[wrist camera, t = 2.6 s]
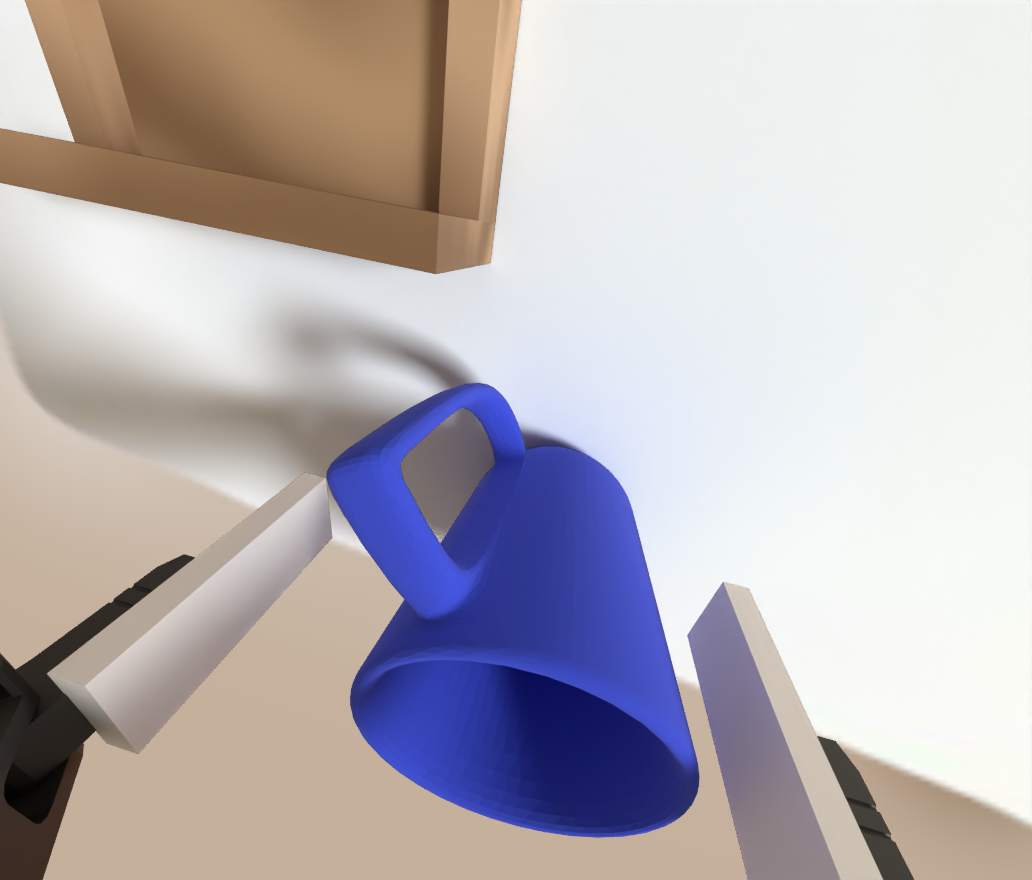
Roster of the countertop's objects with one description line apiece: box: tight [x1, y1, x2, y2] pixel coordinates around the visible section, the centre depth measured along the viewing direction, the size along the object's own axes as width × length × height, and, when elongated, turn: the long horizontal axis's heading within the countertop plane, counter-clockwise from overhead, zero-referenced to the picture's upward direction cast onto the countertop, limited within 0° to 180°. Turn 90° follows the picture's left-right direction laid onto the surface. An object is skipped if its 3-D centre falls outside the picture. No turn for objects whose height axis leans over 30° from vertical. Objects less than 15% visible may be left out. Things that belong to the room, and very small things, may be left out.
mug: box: [327, 383, 699, 838], centre depth 12 cm, size 8×12×10 cm
